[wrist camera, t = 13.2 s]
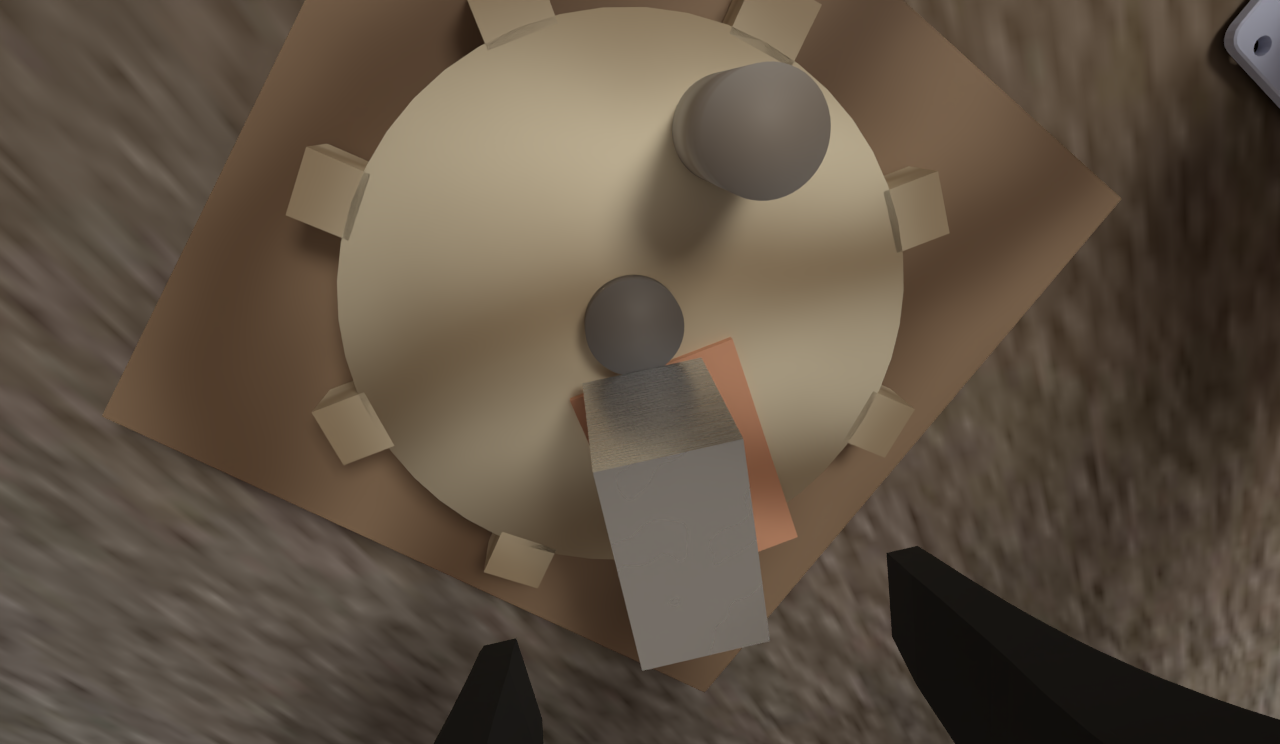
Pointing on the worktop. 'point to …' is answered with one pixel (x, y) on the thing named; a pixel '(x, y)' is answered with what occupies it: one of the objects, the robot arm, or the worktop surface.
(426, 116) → the sprocket wheel
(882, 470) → the base board
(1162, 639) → the worktop surface
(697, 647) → the link block
